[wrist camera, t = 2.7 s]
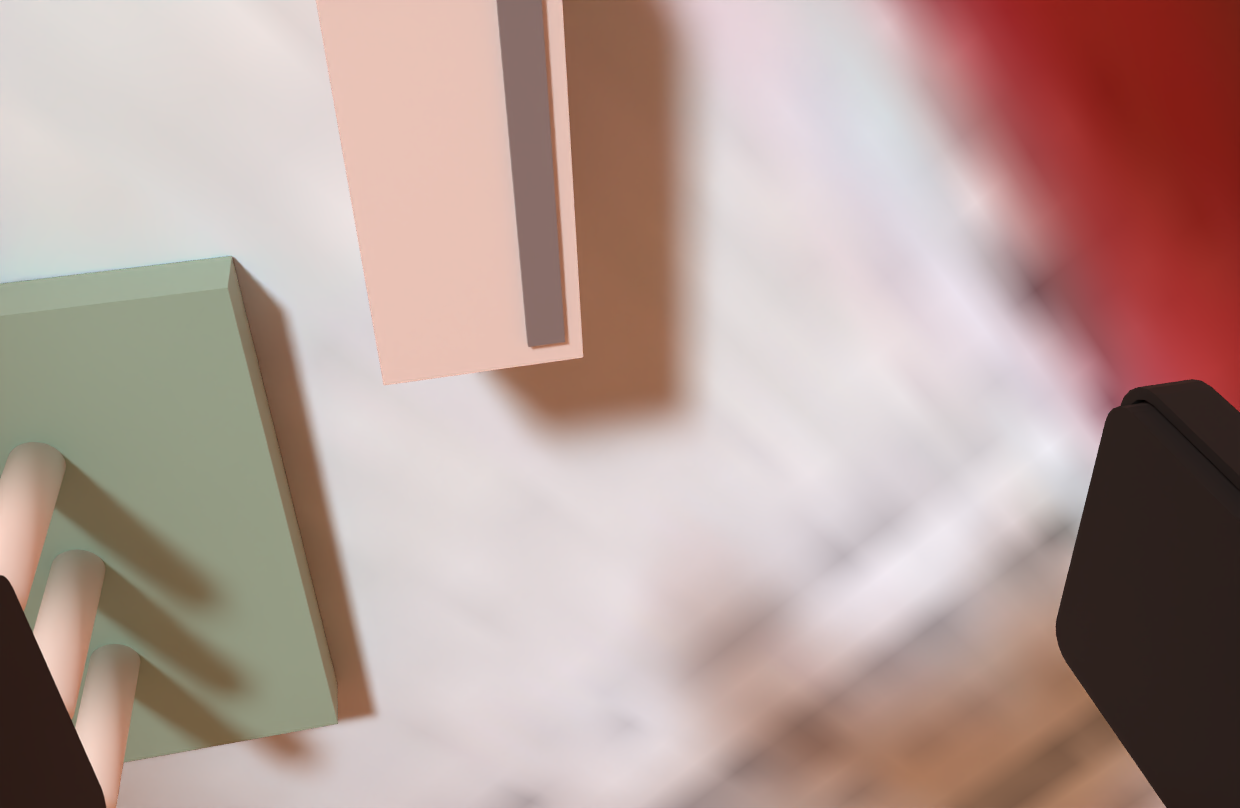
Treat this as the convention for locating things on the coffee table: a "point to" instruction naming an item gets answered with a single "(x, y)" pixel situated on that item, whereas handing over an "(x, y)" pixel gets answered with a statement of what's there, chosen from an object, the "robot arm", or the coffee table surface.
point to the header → (154, 515)
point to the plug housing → (459, 179)
